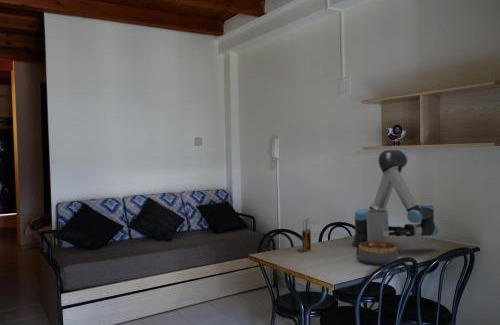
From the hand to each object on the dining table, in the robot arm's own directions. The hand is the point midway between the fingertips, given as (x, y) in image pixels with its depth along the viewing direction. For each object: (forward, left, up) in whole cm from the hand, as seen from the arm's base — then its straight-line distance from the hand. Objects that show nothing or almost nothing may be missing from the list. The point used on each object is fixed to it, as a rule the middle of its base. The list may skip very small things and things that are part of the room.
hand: (378, 231), depth 265 cm
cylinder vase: (-1, 0, -13) cm, 13 cm away
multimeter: (-34, -32, -13) cm, 49 cm away
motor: (+11, -14, -13) cm, 22 cm away
